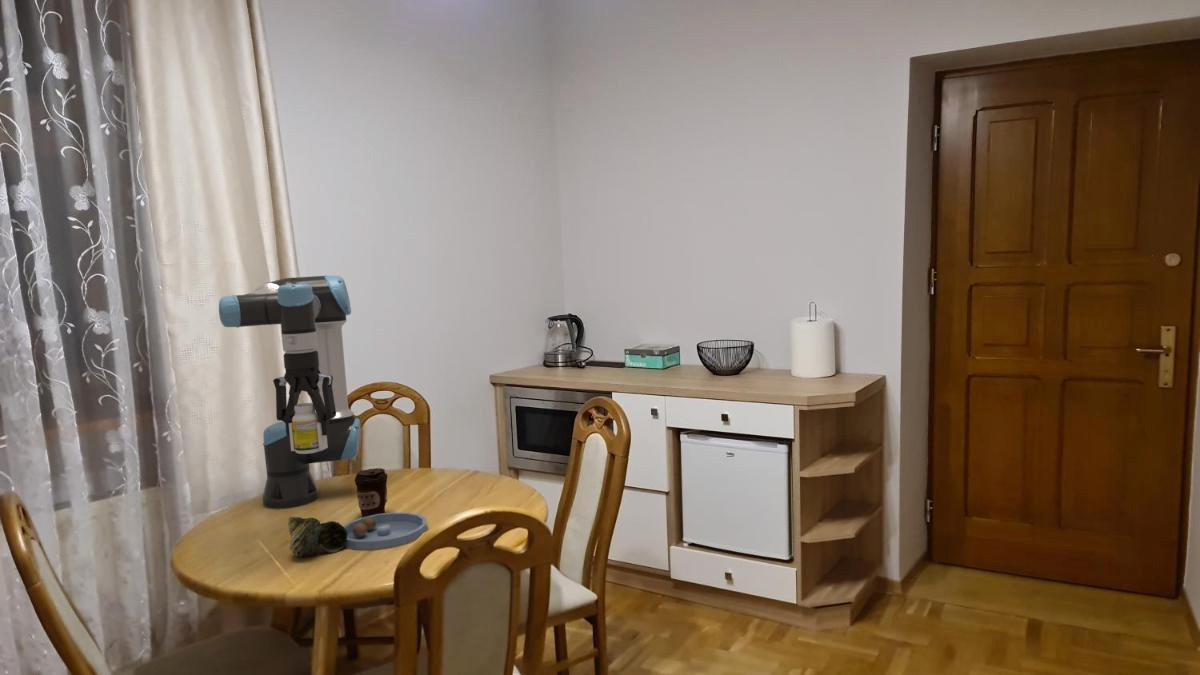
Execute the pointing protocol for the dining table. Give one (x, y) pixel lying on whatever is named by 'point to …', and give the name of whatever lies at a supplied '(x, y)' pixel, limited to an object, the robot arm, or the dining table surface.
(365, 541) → the ring tray
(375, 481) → the coffee cup
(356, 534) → the walnut bead
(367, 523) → the walnut bead
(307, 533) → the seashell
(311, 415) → the pill bottle
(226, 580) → the dining table surface
